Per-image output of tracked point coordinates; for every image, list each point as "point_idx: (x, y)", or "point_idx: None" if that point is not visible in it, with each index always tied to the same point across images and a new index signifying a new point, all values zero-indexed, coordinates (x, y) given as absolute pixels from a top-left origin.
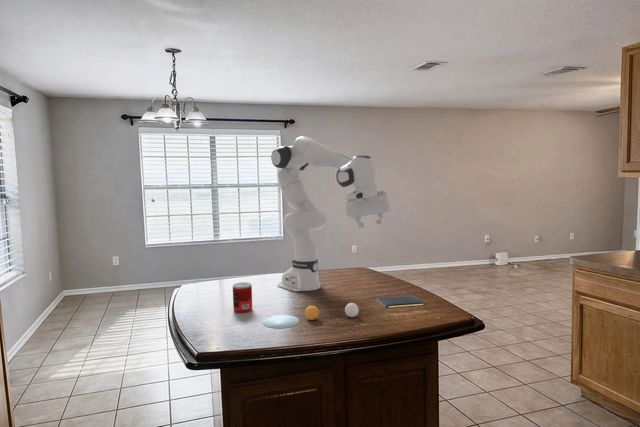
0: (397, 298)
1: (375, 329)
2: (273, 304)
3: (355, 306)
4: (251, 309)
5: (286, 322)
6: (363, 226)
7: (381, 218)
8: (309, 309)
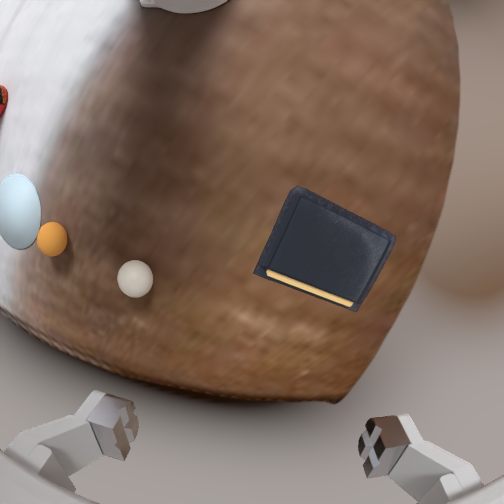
0: (333, 242)
1: (147, 354)
2: (44, 86)
3: (135, 296)
4: (3, 110)
5: (19, 224)
6: (135, 431)
7: (408, 480)
8: (39, 248)
